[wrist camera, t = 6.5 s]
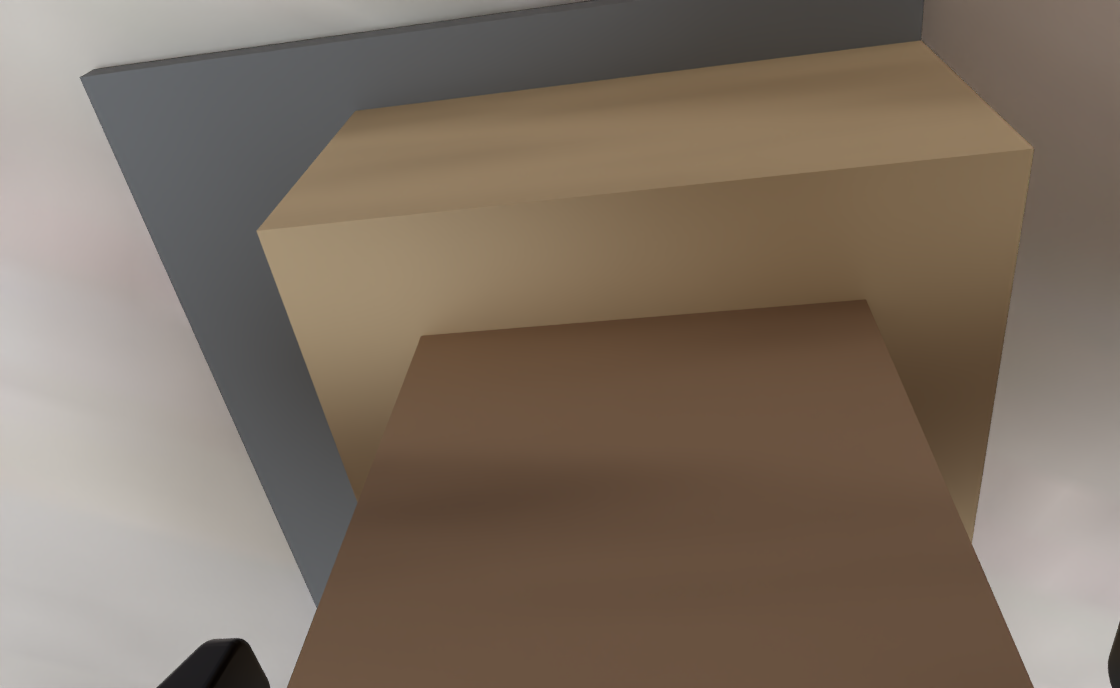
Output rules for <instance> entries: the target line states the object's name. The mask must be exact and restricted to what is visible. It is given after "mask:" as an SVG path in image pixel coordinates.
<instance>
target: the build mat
mask: <svg viewBox="0 0 1120 688" xmlns="http://www.w3.org/2000/svg"><path fill="white" fill-rule="evenodd" d="M923 7H924V0H593V1H586V2H579V3H572V4H564V5H557V6H550V7H543V8H535V9H528V10H521V11H514V12H507V13H499V14H492V15H485V16H478V17H470V18H463V19H456V20H449V21H441V22H434V23H427V24H420V25H412V26H405V27H398V28H391V29H383V30H376V31H369V32H362V33H354V34H347V35H340V36H333V37H325V38H318V39H311V40H304V41H296V42H289V43H282V44H275V45H268V46H260V47H253V48H246V49H239V50H231V51H224V52H217V53H210V54H202V55H195V56H188V57H181V58H173V59H166V60H159V61H152V62H144V63H137V64H130V65H123V66H115V67H108V68H101V69H94V70H92V71H90V72H88V73H87V74H85V75H83V76H81V77H80V79H81V81H82V83H83V86H84V88H85V90H86V92H87V95H88V97H89V99H90V101H91V104H92V106H93V108H94V110H95V112H96V115H97V117H98V119H99V121H100V124H101V126H102V128H103V130H104V133H105V135H106V137H107V139H108V142H109V144H110V146H111V148H112V151H113V153H114V155H115V157H116V160H117V162H118V164H119V166H120V168H121V171H122V173H123V175H124V177H125V180H126V182H127V184H128V186H129V189H130V191H131V193H132V195H133V198H134V200H135V202H136V204H137V207H138V209H139V211H140V213H141V215H142V218H143V220H144V222H145V224H146V227H147V229H148V231H149V233H150V236H151V238H152V240H153V242H154V245H155V247H156V249H157V251H158V254H159V256H160V258H161V260H162V262H163V265H164V267H165V269H166V271H167V274H168V276H169V278H170V280H171V283H172V285H173V287H174V289H175V292H176V294H177V296H178V298H179V301H180V303H181V305H182V307H183V309H184V312H185V314H186V316H187V318H188V321H189V323H190V325H191V327H192V330H193V332H194V334H195V336H196V339H197V341H198V343H199V345H200V348H201V350H202V352H203V354H204V356H205V359H206V361H207V363H208V365H209V368H210V370H211V372H212V374H213V377H214V379H215V381H216V383H217V386H218V388H219V390H220V392H221V395H222V397H223V399H224V401H225V403H226V406H227V408H228V410H229V412H230V415H231V417H232V419H233V421H234V424H235V426H236V428H237V430H238V433H239V435H240V437H241V439H242V442H243V444H244V446H245V448H246V451H247V453H248V455H249V457H250V459H251V462H252V464H253V466H254V468H255V471H256V473H257V475H258V477H259V480H260V482H261V484H262V486H263V489H264V491H265V493H266V495H267V498H268V500H269V502H270V504H271V506H272V509H273V511H274V513H275V515H276V518H277V520H278V522H279V524H280V527H281V529H282V531H283V533H284V536H285V538H286V540H287V542H288V545H289V547H290V549H291V551H292V553H293V556H294V558H295V560H296V562H297V565H298V567H299V569H300V571H301V574H302V576H303V578H304V580H305V583H306V585H307V587H308V589H309V592H310V594H311V596H312V598H313V600H314V603H315V605H316V607H317V608H318V605H319V602H320V600H321V597H322V594H323V592H324V589H325V587H326V584H327V581H328V579H329V576H330V573H331V571H332V568H333V566H334V563H335V560H336V558H337V555H338V552H339V550H340V547H341V545H342V542H343V539H344V537H345V534H346V531H347V529H348V526H349V524H350V521H351V518H352V516H353V513H354V510H355V508H356V505H357V500H356V497H355V495H354V492H353V489H352V487H351V484H350V481H349V479H348V476H347V473H346V470H345V468H344V465H343V462H342V460H341V457H340V454H339V452H338V449H337V446H336V444H335V441H334V438H333V436H332V433H331V430H330V427H329V425H328V422H327V419H326V417H325V414H324V411H323V409H322V406H321V403H320V401H319V398H318V395H317V392H316V390H315V387H314V384H313V382H312V379H311V376H310V374H309V371H308V368H307V366H306V363H305V360H304V358H303V355H302V352H301V349H300V347H299V344H298V341H297V339H296V336H295V333H294V331H293V328H292V325H291V323H290V320H289V317H288V314H287V312H286V309H285V306H284V304H283V301H282V298H281V296H280V293H279V290H278V288H277V285H276V282H275V280H274V277H273V274H272V271H271V269H270V266H269V263H268V261H267V258H266V255H265V253H264V250H263V247H262V245H261V242H260V239H259V236H258V234H257V230H258V228H259V227H260V226H261V225H262V224H263V222H264V221H265V220H266V219H267V218H268V216H269V215H270V214H271V213H272V211H273V210H274V209H275V208H276V207H277V205H278V204H279V203H280V202H281V201H282V199H283V198H284V197H285V196H286V194H287V193H288V192H289V191H290V190H291V188H292V187H293V186H294V185H295V184H296V182H297V181H298V180H299V179H300V177H301V176H302V175H303V174H304V173H305V171H306V170H307V169H308V168H309V167H310V165H311V164H312V163H313V162H314V160H315V159H316V158H317V157H318V156H319V154H320V153H321V152H322V151H323V150H324V148H325V147H326V146H327V145H328V144H329V142H330V141H331V140H332V139H333V137H334V136H335V135H336V134H337V133H338V131H339V130H340V129H341V128H342V127H343V125H344V124H345V123H346V122H347V120H348V119H349V118H350V117H351V116H352V114H353V113H354V112H355V111H359V110H367V109H375V108H383V107H391V106H399V105H407V104H415V103H423V102H431V101H439V100H447V99H455V98H463V97H471V96H479V95H487V94H495V93H503V92H511V91H519V90H527V89H535V88H543V87H551V86H559V85H567V84H576V83H584V82H592V81H600V80H608V79H616V78H624V77H632V76H640V75H648V74H656V73H664V72H672V71H680V70H688V69H696V68H704V67H712V66H720V65H728V64H736V63H744V62H752V61H760V60H768V59H776V58H784V57H792V56H800V55H808V54H816V53H824V52H832V51H840V50H848V49H856V48H864V47H872V46H880V45H888V44H896V43H904V42H912V41H920V40H921V32H922V20H923Z"/></svg>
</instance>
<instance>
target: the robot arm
mask: <svg viewBox="0 0 1120 688" xmlns="http://www.w3.org/2000/svg"><path fill="white" fill-rule="evenodd" d="M1108 673H1109V678H1110V683H1111V686H1112V688H1120V623H1119V626H1118V629H1117V632H1116V636H1115V639H1114V642H1113V645H1112V649H1111V652H1110V655H1109V660H1108ZM157 688H270V685H269V681H268V679H267V677H266V675H265V673H264V672H263V670H262V668H261V666H260V664H259V662H258V660H257V658H256V656H255V654H254V653H253V651H252V649H251V647H250V645H249V644H248V642H246V641H245V640H243V639H240V638H230V639H213V640H209V641H207V642H205V643H204V644H202V645H201V646H200V647H198V648H197V649H196V650H195V651H194V652H193V653H192V654H191V655H190V656H189V657H188V658H187V659H186V660H185V661H184V662H183V663H182V664H181V665H180V666H179V667H178V668H177V669H176V670H174V671H173V672H172V673H171V674H170V675H169V676H168V677H167V678H166V679H165V680H164V681H163V682H162V683H161V684H160V685H159V686H158V687H157Z"/></svg>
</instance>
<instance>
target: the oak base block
mask: <svg viewBox="0 0 1120 688" xmlns="http://www.w3.org/2000/svg"><path fill="white" fill-rule="evenodd" d="M1033 153H1034V148H1033V147H1032V146H1031V145H1030V144H1029V143H1028V142H1027V141H1026V140H1025V139H1024V138H1023V137H1022V136H1021V135H1020V134H1018V133H1017V132H1016V131H1015V130H1014V129H1013V128H1012V127H1011V126H1010V125H1009V124H1008V123H1007V122H1006V121H1005V120H1004V119H1003V118H1002V117H1001V116H1000V115H999V114H998V113H996V112H995V111H994V110H993V109H992V108H991V107H990V106H989V105H988V104H987V103H986V102H985V101H984V100H983V99H982V98H981V97H980V96H979V95H978V94H977V93H975V92H974V91H973V90H972V89H971V88H970V87H969V86H968V85H967V84H966V83H965V82H964V81H963V80H962V79H961V78H960V77H959V76H958V75H957V74H956V73H955V72H953V71H952V70H951V69H950V68H949V67H948V66H947V65H946V64H945V63H944V62H943V61H942V60H941V59H940V58H939V57H938V56H937V55H936V54H935V53H934V52H932V51H931V50H930V49H929V48H928V47H927V46H926V45H925V44H924V43H923V42H922V41H921V40H920V41H912V42H904V43H896V44H888V45H880V46H872V47H864V48H856V49H848V50H840V51H832V52H824V53H816V54H808V55H800V56H792V57H784V58H776V59H768V60H760V61H752V62H744V63H736V64H728V65H720V66H712V67H704V68H696V69H688V70H680V71H672V72H664V73H656V74H648V75H640V76H632V77H624V78H616V79H608V80H600V81H592V82H584V83H576V84H567V85H559V86H551V87H543V88H535V89H527V90H519V91H511V92H503V93H495V94H487V95H479V96H471V97H463V98H455V99H447V100H439V101H431V102H423V103H415V104H407V105H399V106H391V107H383V108H375V109H367V110H359V111H355V112H354V113H353V114H352V116H351V117H350V118H349V119H348V120H347V122H346V123H345V124H344V125H343V127H342V128H341V129H340V130H339V131H338V133H337V134H336V135H335V136H334V137H333V139H332V140H331V141H330V142H329V144H328V145H327V146H326V147H325V148H324V150H323V151H322V152H321V153H320V154H319V156H318V157H317V158H316V159H315V160H314V162H313V163H312V164H311V165H310V167H309V168H308V169H307V170H306V171H305V173H304V174H303V175H302V176H301V177H300V179H299V180H298V181H297V182H296V184H295V185H294V186H293V187H292V188H291V190H290V191H289V192H288V193H287V194H286V196H285V197H284V198H283V199H282V201H281V202H280V203H279V204H278V205H277V207H276V208H275V209H274V210H273V211H272V213H271V214H270V215H269V216H268V218H267V219H266V220H265V221H264V222H263V224H262V225H261V226H260V227H259V228H258V230H257V234H258V236H259V239H260V242H261V245H262V247H263V250H264V253H265V255H266V258H267V261H268V263H269V266H270V269H271V271H272V274H273V277H274V280H275V282H276V285H277V288H278V290H279V293H280V296H281V298H282V301H283V304H284V306H285V309H286V312H287V314H288V317H289V320H290V323H291V325H292V328H293V331H294V333H295V336H296V339H297V341H298V344H299V347H300V349H301V352H302V355H303V358H304V360H305V363H306V366H307V368H308V371H309V374H310V376H311V379H312V382H313V384H314V387H315V390H316V392H317V395H318V398H319V401H320V403H321V406H322V409H323V411H324V414H325V417H326V419H327V422H328V425H329V427H330V430H331V433H332V436H333V438H334V441H335V444H336V446H337V449H338V452H339V454H340V457H341V460H342V462H343V465H344V468H345V470H346V473H347V476H348V479H349V481H350V484H351V487H352V489H353V492H354V495H355V497H356V500H357V503H358V500H359V497H360V495H361V492H362V489H363V487H364V484H365V482H366V479H367V476H368V474H369V471H370V468H371V466H372V463H373V461H374V458H375V455H376V453H377V450H378V447H379V445H380V442H381V440H382V437H383V434H384V432H385V429H386V426H387V424H388V421H389V419H390V416H391V413H392V411H393V408H394V405H395V403H396V400H397V398H398V395H399V392H400V390H401V387H402V385H403V382H404V379H405V377H406V374H407V371H408V369H409V366H410V364H411V361H412V358H413V356H414V353H415V350H416V348H417V345H418V343H419V340H420V337H421V336H424V335H437V334H449V333H461V332H473V331H485V330H498V329H510V328H522V327H534V326H547V325H559V324H571V323H583V322H595V321H608V320H620V319H632V318H644V317H656V316H669V315H681V314H693V313H705V312H718V311H730V310H742V309H754V308H766V307H779V306H791V305H803V304H815V303H828V302H840V301H852V300H864V299H866V301H867V303H868V305H869V308H870V310H871V312H872V315H873V317H874V319H875V322H876V324H877V326H878V328H879V331H880V333H881V335H882V338H883V340H884V342H885V345H886V347H887V349H888V352H889V354H890V356H891V359H892V361H893V363H894V365H895V368H896V370H897V372H898V375H899V377H900V379H901V382H902V384H903V386H904V389H905V391H906V393H907V396H908V398H909V400H910V402H911V405H912V407H913V409H914V412H915V414H916V416H917V419H918V421H919V423H920V426H921V428H922V430H923V433H924V435H925V437H926V439H927V442H928V444H929V446H930V449H931V451H932V453H933V456H934V458H935V460H936V463H937V465H938V467H939V470H940V472H941V474H942V476H943V479H944V481H945V483H946V486H947V488H948V490H949V493H950V495H951V497H952V500H953V502H954V504H955V507H956V509H957V511H958V513H959V516H960V518H961V520H962V523H963V525H964V527H965V530H966V532H967V534H968V537H969V539H970V541H971V544H972V538H973V532H974V525H975V519H976V513H977V506H978V500H979V494H980V487H981V481H982V475H983V468H984V462H985V456H986V450H987V443H988V437H989V431H990V424H991V418H992V412H993V405H994V399H995V393H996V387H997V380H998V374H999V368H1000V361H1001V355H1002V349H1003V342H1004V336H1005V330H1006V324H1007V317H1008V311H1009V305H1010V298H1011V292H1012V286H1013V279H1014V273H1015V267H1016V261H1017V254H1018V248H1019V242H1020V235H1021V229H1022V223H1023V216H1024V210H1025V204H1026V197H1027V191H1028V185H1029V179H1030V172H1031V166H1032V160H1033Z"/></svg>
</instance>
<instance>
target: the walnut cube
mask: <svg viewBox="0 0 1120 688" xmlns="http://www.w3.org/2000/svg"><path fill="white" fill-rule="evenodd" d="M287 688H1034V687H1033V685H1032V682H1031V680H1030V678H1029V675H1028V673H1027V671H1026V668H1025V666H1024V664H1023V661H1022V659H1021V657H1020V655H1019V652H1018V650H1017V648H1016V645H1015V643H1014V641H1013V638H1012V636H1011V634H1010V631H1009V629H1008V627H1007V624H1006V622H1005V620H1004V618H1003V615H1002V613H1001V611H1000V608H999V606H998V604H997V601H996V599H995V597H994V594H993V592H992V590H991V587H990V585H989V583H988V581H987V578H986V576H985V574H984V571H983V569H982V567H981V564H980V562H979V560H978V557H977V555H976V553H975V550H974V548H973V546H972V544H971V541H970V539H969V537H968V534H967V532H966V530H965V527H964V525H963V523H962V520H961V518H960V516H959V513H958V511H957V509H956V507H955V504H954V502H953V500H952V497H951V495H950V493H949V490H948V488H947V486H946V483H945V481H944V479H943V476H942V474H941V472H940V470H939V467H938V465H937V463H936V460H935V458H934V456H933V453H932V451H931V449H930V446H929V444H928V442H927V439H926V437H925V435H924V433H923V430H922V428H921V426H920V423H919V421H918V419H917V416H916V414H915V412H914V409H913V407H912V405H911V402H910V400H909V398H908V396H907V393H906V391H905V389H904V386H903V384H902V382H901V379H900V377H899V375H898V372H897V370H896V368H895V365H894V363H893V361H892V359H891V356H890V354H889V352H888V349H887V347H886V345H885V342H884V340H883V338H882V335H881V333H880V331H879V328H878V326H877V324H876V322H875V319H874V317H873V315H872V312H871V310H870V308H869V305H868V303H867V301H866V299H864V300H852V301H840V302H828V303H815V304H803V305H791V306H779V307H766V308H754V309H742V310H730V311H718V312H705V313H693V314H681V315H669V316H656V317H644V318H632V319H620V320H608V321H595V322H583V323H571V324H559V325H547V326H534V327H522V328H510V329H498V330H485V331H473V332H461V333H449V334H437V335H424V336H421V337H420V340H419V343H418V345H417V348H416V350H415V353H414V356H413V358H412V361H411V364H410V366H409V369H408V371H407V374H406V377H405V379H404V382H403V385H402V387H401V390H400V392H399V395H398V398H397V400H396V403H395V405H394V408H393V411H392V413H391V416H390V419H389V421H388V424H387V426H386V429H385V432H384V434H383V437H382V440H381V442H380V445H379V447H378V450H377V453H376V455H375V458H374V461H373V463H372V466H371V468H370V471H369V474H368V476H367V479H366V482H365V484H364V487H363V489H362V492H361V495H360V497H359V500H358V503H357V505H356V508H355V510H354V513H353V516H352V518H351V521H350V524H349V526H348V529H347V531H346V534H345V537H344V539H343V542H342V545H341V547H340V550H339V552H338V555H337V558H336V560H335V563H334V566H333V568H332V571H331V573H330V576H329V579H328V581H327V584H326V587H325V589H324V592H323V594H322V597H321V600H320V602H319V605H318V608H317V610H316V613H315V615H314V618H313V621H312V623H311V626H310V629H309V631H308V634H307V636H306V639H305V642H304V644H303V647H302V650H301V652H300V655H299V657H298V660H297V663H296V665H295V668H294V671H293V673H292V676H291V678H290V681H289V684H288V686H287Z"/></svg>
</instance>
